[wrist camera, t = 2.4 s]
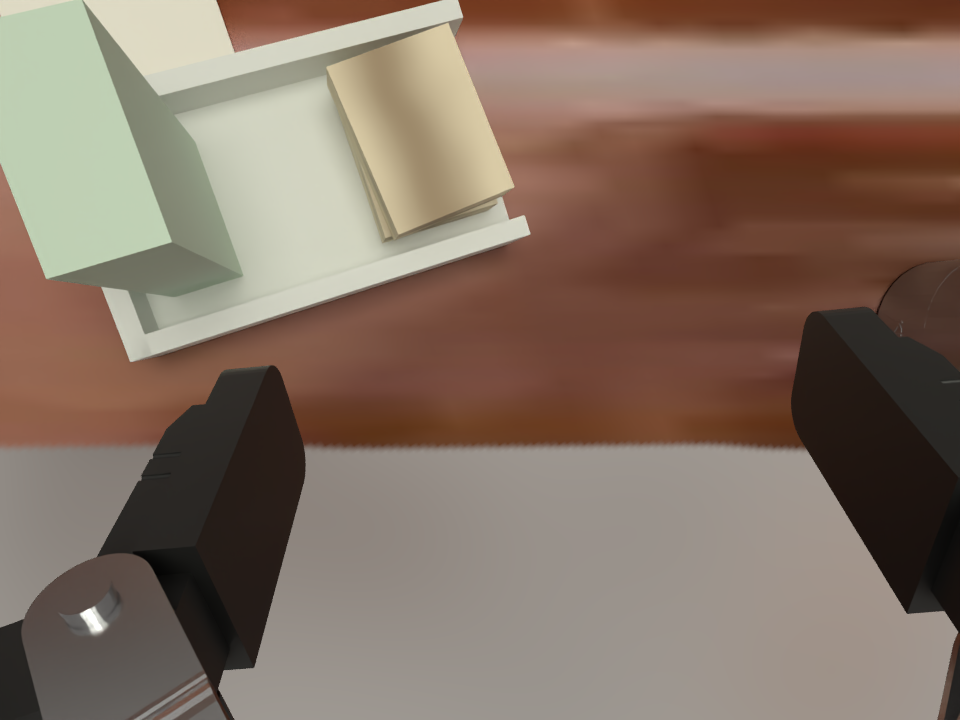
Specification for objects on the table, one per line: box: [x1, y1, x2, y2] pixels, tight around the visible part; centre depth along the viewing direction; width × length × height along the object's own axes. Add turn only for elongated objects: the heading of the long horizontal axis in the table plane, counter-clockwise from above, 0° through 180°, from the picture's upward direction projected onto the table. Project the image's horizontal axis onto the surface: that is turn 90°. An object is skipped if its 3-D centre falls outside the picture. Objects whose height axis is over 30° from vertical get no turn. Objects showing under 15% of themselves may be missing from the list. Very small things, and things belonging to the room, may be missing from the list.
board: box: [0, 0, 244, 297], centre depth 27 cm, size 4×7×16 cm, turn 18°
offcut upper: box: [326, 23, 514, 241], centre depth 34 cm, size 6×8×2 cm
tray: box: [102, 0, 530, 362], centre depth 36 cm, size 20×12×5 cm, turn 108°
